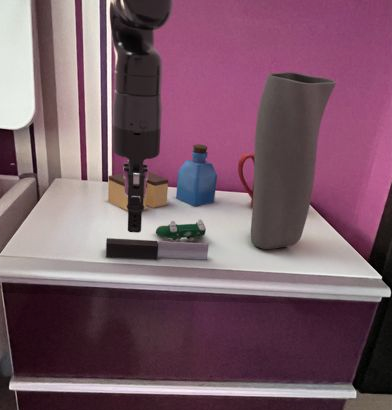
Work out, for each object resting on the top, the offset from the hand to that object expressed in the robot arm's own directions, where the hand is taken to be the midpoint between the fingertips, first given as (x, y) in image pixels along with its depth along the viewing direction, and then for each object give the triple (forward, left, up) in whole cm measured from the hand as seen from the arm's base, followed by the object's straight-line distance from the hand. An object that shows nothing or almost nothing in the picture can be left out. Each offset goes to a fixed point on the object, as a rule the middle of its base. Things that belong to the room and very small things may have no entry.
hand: (134, 222), depth 97 cm
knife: (+3, -3, -6) cm, 8 cm away
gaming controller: (+13, 0, -6) cm, 14 cm away
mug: (+42, +4, -6) cm, 42 cm away
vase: (+27, -11, -6) cm, 29 cm away
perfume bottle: (+32, +15, -6) cm, 36 cm away
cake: (+19, +20, -6) cm, 28 cm away
